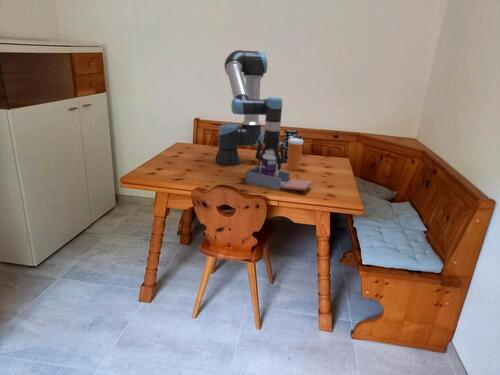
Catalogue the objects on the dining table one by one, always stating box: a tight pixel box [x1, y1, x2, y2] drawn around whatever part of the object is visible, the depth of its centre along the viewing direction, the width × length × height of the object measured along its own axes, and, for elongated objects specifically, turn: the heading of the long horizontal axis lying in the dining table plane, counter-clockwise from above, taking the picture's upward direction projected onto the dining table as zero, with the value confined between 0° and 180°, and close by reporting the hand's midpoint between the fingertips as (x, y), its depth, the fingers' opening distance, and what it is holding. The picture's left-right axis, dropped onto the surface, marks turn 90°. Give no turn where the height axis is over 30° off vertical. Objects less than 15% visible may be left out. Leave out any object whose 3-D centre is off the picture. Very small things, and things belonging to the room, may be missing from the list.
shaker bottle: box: [286, 135, 304, 171], centre depth 206 cm, size 9×9×20 cm
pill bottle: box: [261, 148, 278, 177], centre depth 177 cm, size 8×8×14 cm
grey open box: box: [245, 165, 291, 191], centre depth 180 cm, size 19×13×6 cm
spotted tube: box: [283, 129, 299, 164], centre depth 220 cm, size 8×8×20 cm
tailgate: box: [280, 178, 314, 191], centre depth 173 cm, size 1×14×12 cm
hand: (268, 174), depth 179 cm, fingers closed on pill bottle, 8 cm apart
